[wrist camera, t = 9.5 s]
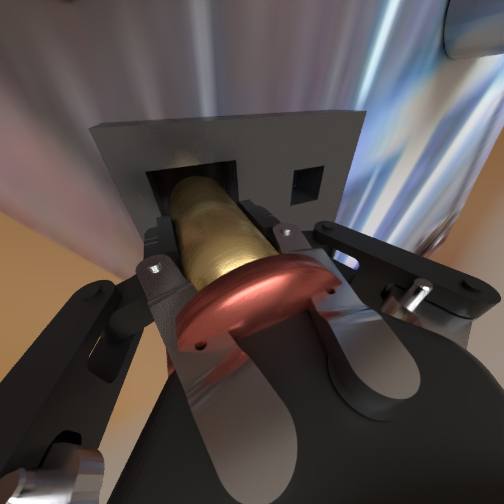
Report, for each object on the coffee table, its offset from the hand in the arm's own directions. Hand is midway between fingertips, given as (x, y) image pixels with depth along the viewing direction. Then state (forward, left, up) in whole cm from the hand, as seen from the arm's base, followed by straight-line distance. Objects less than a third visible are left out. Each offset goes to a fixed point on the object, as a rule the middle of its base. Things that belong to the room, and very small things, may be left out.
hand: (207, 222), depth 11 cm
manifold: (-5, 0, -6) cm, 8 cm away
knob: (0, 0, -3) cm, 3 cm away
